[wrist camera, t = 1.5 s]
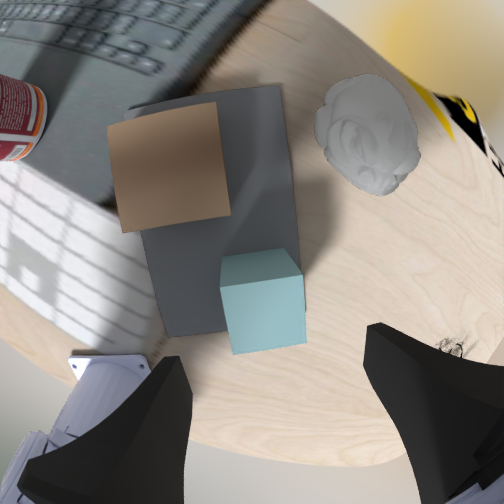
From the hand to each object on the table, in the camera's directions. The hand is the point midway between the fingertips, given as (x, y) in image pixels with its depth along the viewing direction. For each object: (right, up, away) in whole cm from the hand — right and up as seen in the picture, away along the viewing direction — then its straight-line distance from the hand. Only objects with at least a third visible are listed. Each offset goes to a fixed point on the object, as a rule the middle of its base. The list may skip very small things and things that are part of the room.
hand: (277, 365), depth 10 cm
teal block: (-1, +2, +9) cm, 9 cm away
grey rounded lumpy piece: (+5, +12, +7) cm, 15 cm away
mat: (-3, +6, +8) cm, 11 cm away
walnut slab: (-6, +9, +6) cm, 13 cm away
